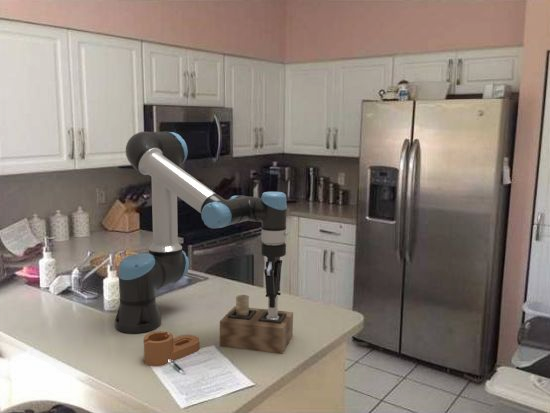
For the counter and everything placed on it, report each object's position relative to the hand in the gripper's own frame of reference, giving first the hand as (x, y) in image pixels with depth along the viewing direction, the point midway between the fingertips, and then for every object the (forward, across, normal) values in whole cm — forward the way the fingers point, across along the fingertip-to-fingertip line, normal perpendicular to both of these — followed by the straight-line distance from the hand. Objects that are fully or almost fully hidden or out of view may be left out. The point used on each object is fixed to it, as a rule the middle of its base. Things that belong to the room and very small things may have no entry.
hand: (272, 315), depth 156 cm
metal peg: (+8, 0, 0) cm, 8 cm away
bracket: (+9, -16, +27) cm, 32 cm away
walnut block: (+9, 0, +5) cm, 10 cm away
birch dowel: (+3, 0, +10) cm, 10 cm away
